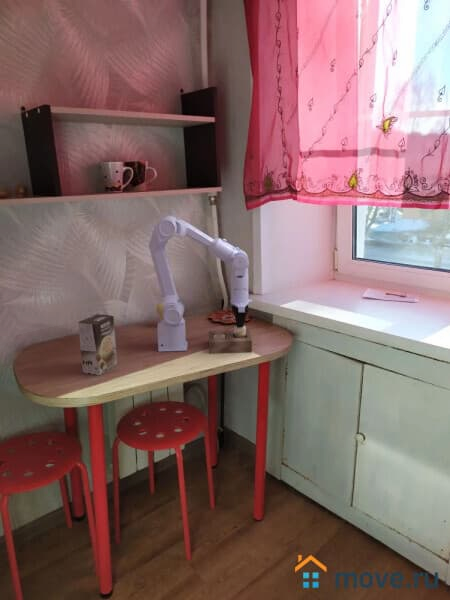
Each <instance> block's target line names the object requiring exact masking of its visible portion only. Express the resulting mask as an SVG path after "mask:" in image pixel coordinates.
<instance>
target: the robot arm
mask: <svg viewBox="0 0 450 600" xmlns="http://www.w3.org/2000/svg"><path fill="white" fill-rule="evenodd" d="M176 234H177V236H176ZM174 236H176V237H178V238H181V237H188V238H190V239H191V240H193V241H195V242H197V243H199V244H201V245H202V246H204V247H206V248H208V249H209V253H210V254H211V255H212V256H214V257H216V258H217V259H219V260H221V261H222V262H224V263H226V264H230V266H231V274H230V284H231V285H230V304H231V306H230V308H231V310H232V313H233V315H234V319H235V324H236V325H235V326H237V327H243V326H245V320H246V316H247V314H248V312H249V309H250V307H249V305H248V304H252V303H253V300H252V299H249V284H250V283H249V265H250V259H249V256H248V254H247V253H246V252H245V251H244V249H240V247H238V246H236V247H235V246H234V245H232V244H230V243H229V242H227V241H228V240H227V239H225V238H224V237H223V238H220V237H218V238H213V237H211V236H210V235H207V234H206V233H205V232H203V231H201V230H200V229H198V228H197V227H195V226H194V225H192V224H190V223H188V222H187V221H184V220H182V219H181V218H178V217H176V216H174V215H165V216H164V217H163V218H161V219H160V220H159V221H158V222H157V223H156V224H155V226H154V227H153V232H152V234H151V236H150V240H149V243H148V249H149V251H150V257H151V259H152V263H153V267H154V272H155V274H156V278H157V281H158V286H159V289H160V293H161V297H162V302H163V308H164V313H163V319H164V322H162V323H161V322H158V323H157V346H158V347H157V348H158V351H157V352H160V353H161V352H186V351H187V350H188V341H187V340H186V320H185V317H183V315H184V312H185V305H184V303H183V302H182V301H181V299H180V297H179V294H178V293H177V290H176V289H177V288H176V286H175V283H174V279H173V278H174V277H173V275H172V271H171V266H170V263H169V260H168V259H169V258H168V255H167V250H166V245H167V244H168V243H169V241H170V240H171V239H172V238H173V237H174Z"/></svg>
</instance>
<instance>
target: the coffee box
mask: <svg viewBox="0 0 450 600" xmlns="http://www.w3.org/2000/svg"><path fill="white" fill-rule="evenodd" d="M114 320H115V318H114V315H111V314H110V315H109V314H98V313H96V314H94V315H92V316H90V317H89V316H88V317H86V318H85V319H82V320H79V321H78V322H77V323H78V332H79V345H80V346H79V347H80V354H81V356H80V357H81V367H82V368H81V369H82V373H83V372H84V374H88V373H90V374H89V375H93V374H96V375H95V376H101V375H103V374H104V373H106V372H107V371H109V370H110V368H111V369H112V368H113V366H114V367H116V366H117V365H118V359H117V349H116V348H117V347H116V332H115V321H114ZM105 371H106V372H105ZM102 373H103V374H102Z"/></svg>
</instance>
